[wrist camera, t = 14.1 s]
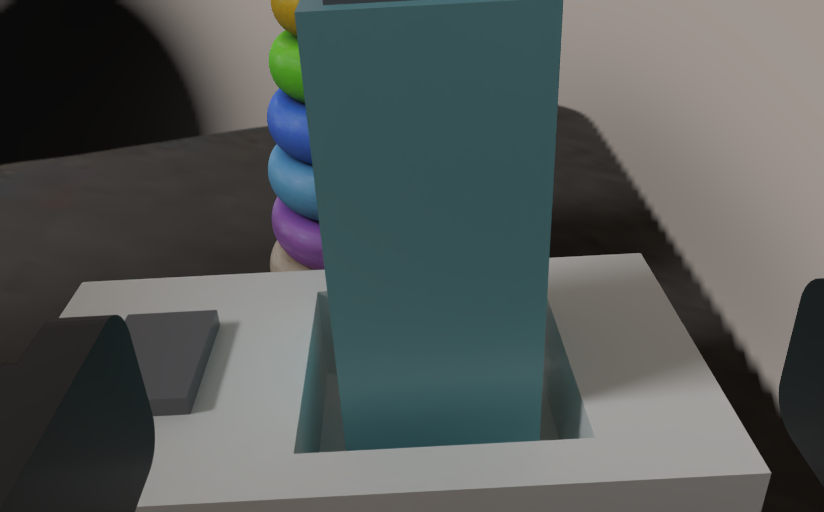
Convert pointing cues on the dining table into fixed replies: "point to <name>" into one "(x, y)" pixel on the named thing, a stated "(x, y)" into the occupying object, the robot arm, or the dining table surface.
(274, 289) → the recessed white block
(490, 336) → the teal square bottle
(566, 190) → the dining table surface
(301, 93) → the stacking toy
